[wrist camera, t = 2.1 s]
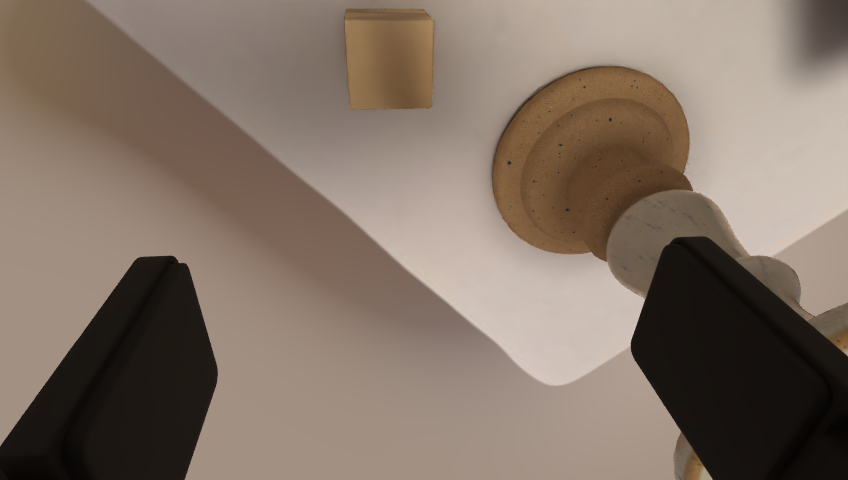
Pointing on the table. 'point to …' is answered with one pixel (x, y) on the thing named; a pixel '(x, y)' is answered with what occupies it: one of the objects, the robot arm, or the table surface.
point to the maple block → (389, 58)
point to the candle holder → (622, 191)
